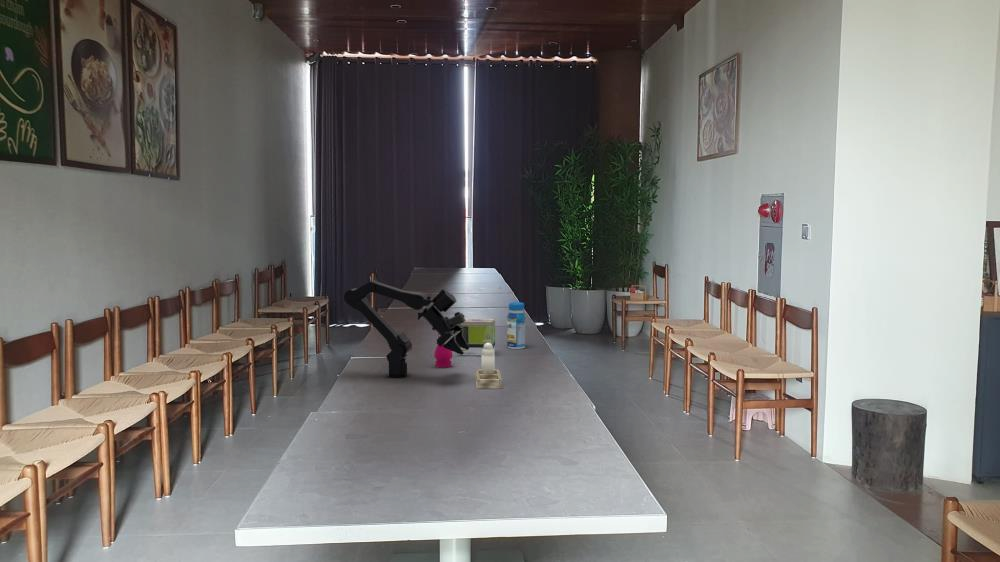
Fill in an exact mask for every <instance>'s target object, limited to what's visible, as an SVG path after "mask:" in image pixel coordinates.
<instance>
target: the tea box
mask: <svg viewBox="0 0 1000 562" xmlns="http://www.w3.org/2000/svg"><path fill="white" fill-rule="evenodd" d="M495 319H496V318H465V320H466V321H464V322H463V323H461V325H462V326H463V328H462V329H463V337H464V339H465V341H466V342H467V344H468V346H469V349H468V350H466V349H464V348H462V347H461V346H460V348H461V349H462V351H463V352H464V354H463V355H462V356H480V357H481V355H482V350H483V349H484V348H483V347H484V344H485V343H491V344H492V346H493V350H494V352H495V351H496V320H495ZM462 329H461V330H462ZM461 330H460V331H461ZM457 354H458V353H457ZM458 356H461V355H460V354H458Z"/></svg>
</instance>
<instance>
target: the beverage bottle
mask: <svg viewBox="0 0 1000 562" xmlns="http://www.w3.org/2000/svg"><path fill="white" fill-rule="evenodd" d="M508 310H509V312H508V314H507V317H506V320H507V322H506V332H507V333H506V347H507V348H508V349H511V350H512V349H513V350H520V349H521V350H522V349H525V348H526V325H527V323H526V315H525V313H524V312H523V311H524V310H525V303H524V302H519V301H518V302H517V301H516V302H514V301H513V302H509V303H508Z"/></svg>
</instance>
